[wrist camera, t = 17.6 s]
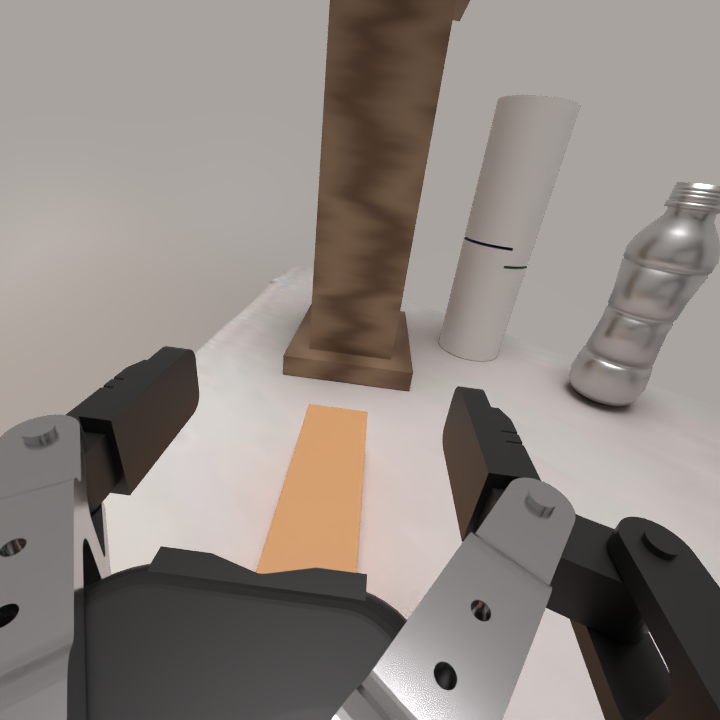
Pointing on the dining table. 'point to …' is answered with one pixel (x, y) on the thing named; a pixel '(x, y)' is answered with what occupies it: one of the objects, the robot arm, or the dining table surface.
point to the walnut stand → (371, 186)
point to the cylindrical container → (505, 220)
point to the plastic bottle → (650, 296)
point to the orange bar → (320, 496)
